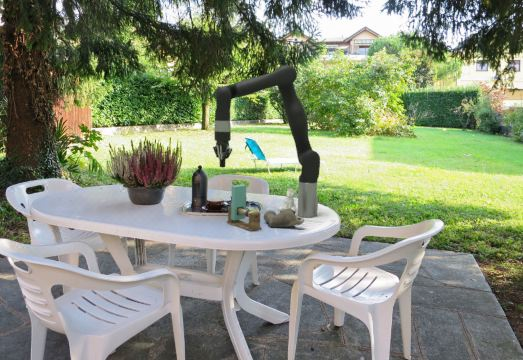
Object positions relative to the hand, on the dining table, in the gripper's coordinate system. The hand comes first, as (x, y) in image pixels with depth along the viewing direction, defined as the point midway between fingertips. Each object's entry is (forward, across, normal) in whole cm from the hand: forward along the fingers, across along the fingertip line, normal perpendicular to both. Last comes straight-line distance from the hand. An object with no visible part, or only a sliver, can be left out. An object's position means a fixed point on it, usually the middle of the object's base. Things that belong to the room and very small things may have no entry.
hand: (222, 167), depth 219 cm
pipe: (+26, +26, +16) cm, 40 cm away
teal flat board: (+23, +13, 0) cm, 26 cm away
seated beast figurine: (+25, +7, +37) cm, 46 cm away
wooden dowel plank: (+25, +16, 0) cm, 30 cm away
